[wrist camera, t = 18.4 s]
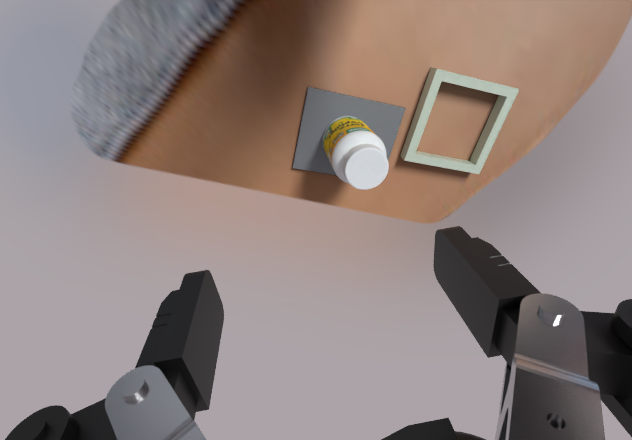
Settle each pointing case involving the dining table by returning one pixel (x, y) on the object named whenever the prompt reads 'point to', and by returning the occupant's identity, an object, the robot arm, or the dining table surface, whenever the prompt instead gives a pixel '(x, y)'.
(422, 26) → the dining table surface
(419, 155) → the pale green square frame
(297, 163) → the mat
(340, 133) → the supplement bottle
